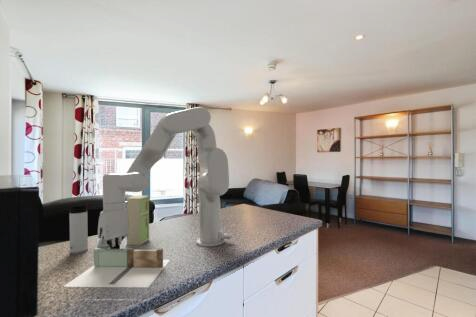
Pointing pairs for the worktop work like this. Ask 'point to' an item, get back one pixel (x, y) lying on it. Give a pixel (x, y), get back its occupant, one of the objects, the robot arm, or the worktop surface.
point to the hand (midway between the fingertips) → (114, 255)
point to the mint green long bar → (110, 257)
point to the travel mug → (78, 229)
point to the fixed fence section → (145, 258)
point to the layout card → (117, 276)
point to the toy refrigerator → (138, 219)
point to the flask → (102, 245)
